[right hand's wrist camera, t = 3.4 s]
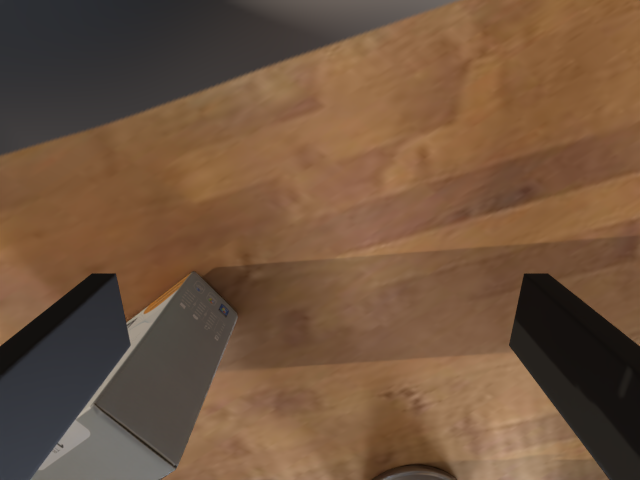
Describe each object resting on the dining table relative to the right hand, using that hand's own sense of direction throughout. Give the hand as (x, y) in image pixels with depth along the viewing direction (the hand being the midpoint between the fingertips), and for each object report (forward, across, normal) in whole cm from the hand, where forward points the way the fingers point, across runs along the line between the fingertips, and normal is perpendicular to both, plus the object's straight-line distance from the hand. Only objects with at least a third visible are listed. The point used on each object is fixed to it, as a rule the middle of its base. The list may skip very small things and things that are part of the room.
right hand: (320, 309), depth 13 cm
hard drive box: (+28, +18, +19) cm, 38 cm away
